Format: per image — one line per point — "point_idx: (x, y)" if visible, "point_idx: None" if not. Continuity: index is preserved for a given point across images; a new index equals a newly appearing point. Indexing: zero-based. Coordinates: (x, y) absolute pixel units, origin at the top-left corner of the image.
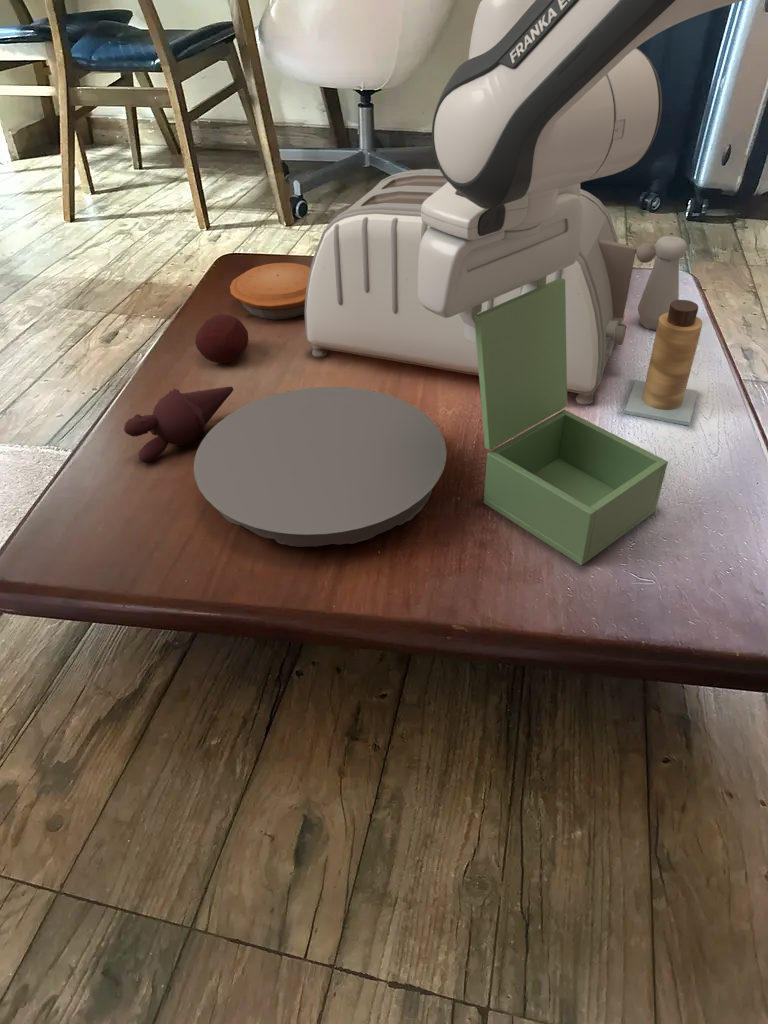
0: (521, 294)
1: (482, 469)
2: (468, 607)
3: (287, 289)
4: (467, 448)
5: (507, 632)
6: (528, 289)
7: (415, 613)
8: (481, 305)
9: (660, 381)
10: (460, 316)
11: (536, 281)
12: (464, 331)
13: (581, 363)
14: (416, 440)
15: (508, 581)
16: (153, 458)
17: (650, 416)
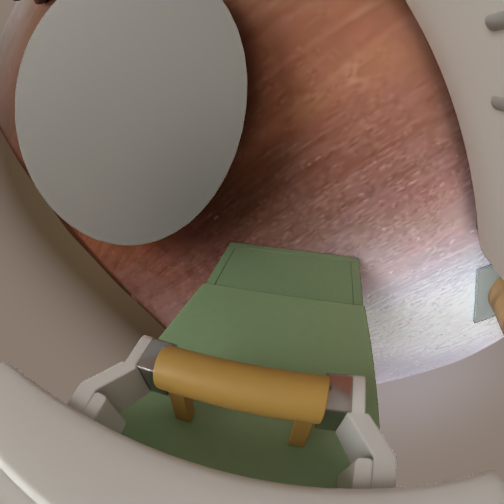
0: (351, 423)
1: (276, 204)
2: (146, 295)
3: None
4: (299, 160)
5: (156, 319)
6: (355, 446)
7: (116, 273)
8: (120, 433)
9: (500, 315)
10: (103, 371)
11: (336, 486)
12: (136, 345)
13: (493, 260)
14: (186, 162)
15: (182, 304)
16: (43, 2)
17: (476, 293)
